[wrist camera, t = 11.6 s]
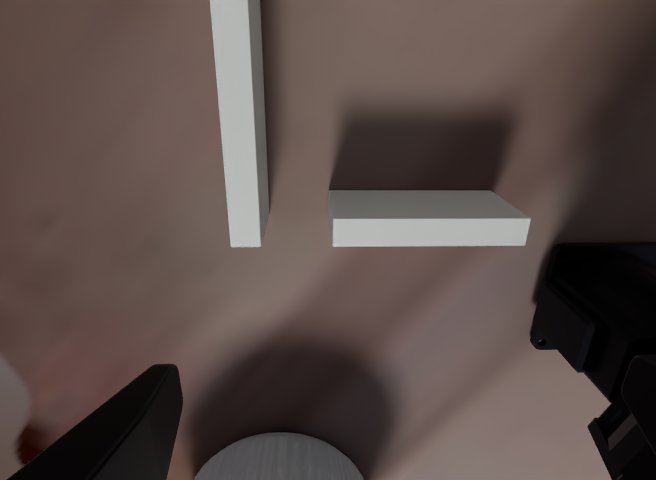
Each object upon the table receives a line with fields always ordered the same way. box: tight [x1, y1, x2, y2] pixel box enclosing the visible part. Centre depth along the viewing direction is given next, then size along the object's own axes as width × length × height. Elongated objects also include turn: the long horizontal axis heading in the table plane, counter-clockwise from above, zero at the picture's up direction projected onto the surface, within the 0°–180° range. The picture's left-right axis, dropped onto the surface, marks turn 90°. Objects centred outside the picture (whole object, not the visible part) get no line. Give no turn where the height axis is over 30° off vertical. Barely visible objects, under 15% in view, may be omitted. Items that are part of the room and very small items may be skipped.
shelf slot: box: [210, 0, 531, 247], centre depth 16 cm, size 12×12×4 cm
